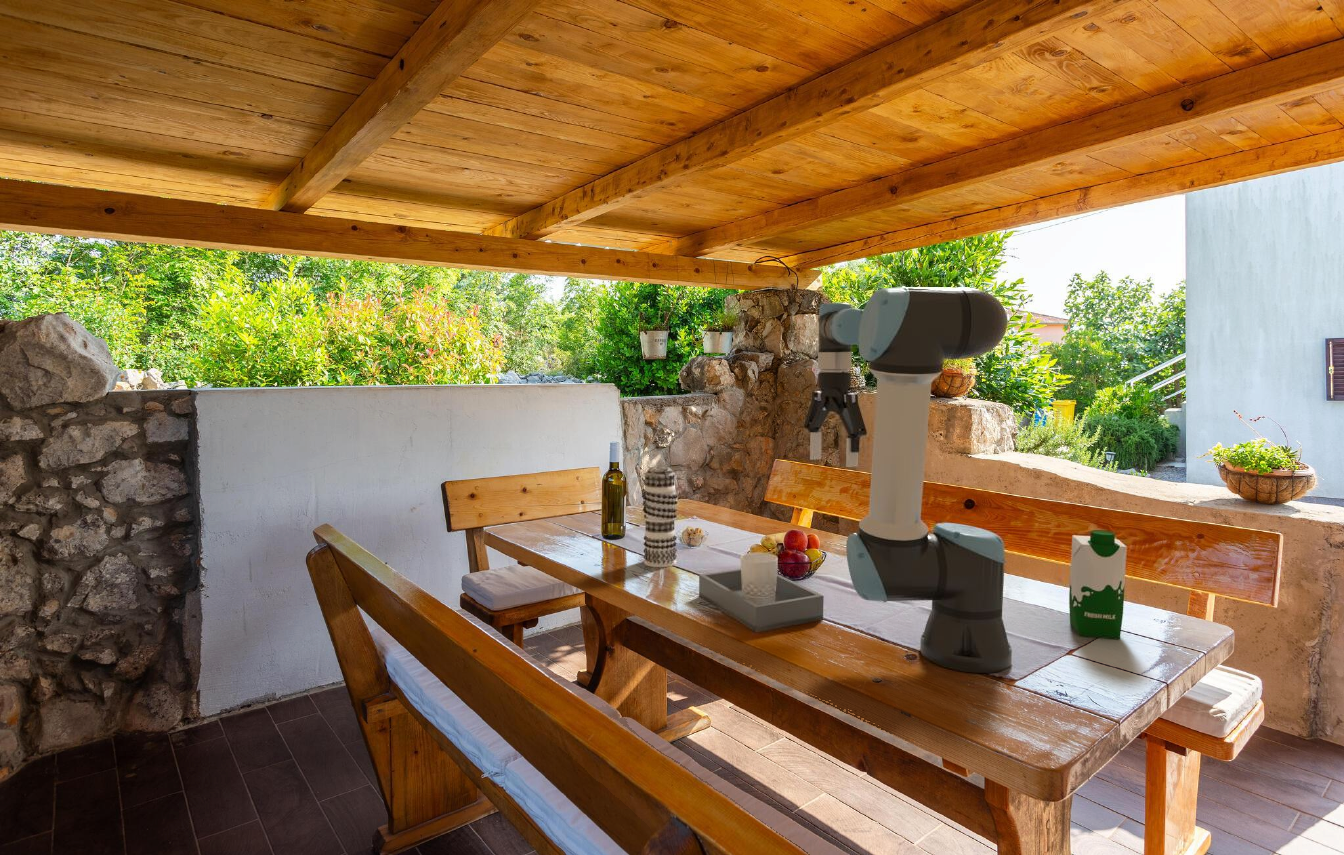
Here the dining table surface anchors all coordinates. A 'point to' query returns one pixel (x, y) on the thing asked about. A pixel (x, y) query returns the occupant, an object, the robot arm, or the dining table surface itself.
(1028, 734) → the dining table surface
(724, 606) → the bin
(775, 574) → the white cup
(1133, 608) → the dining table surface
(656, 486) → the decorative candle
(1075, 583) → the milk carton
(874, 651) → the dining table surface
